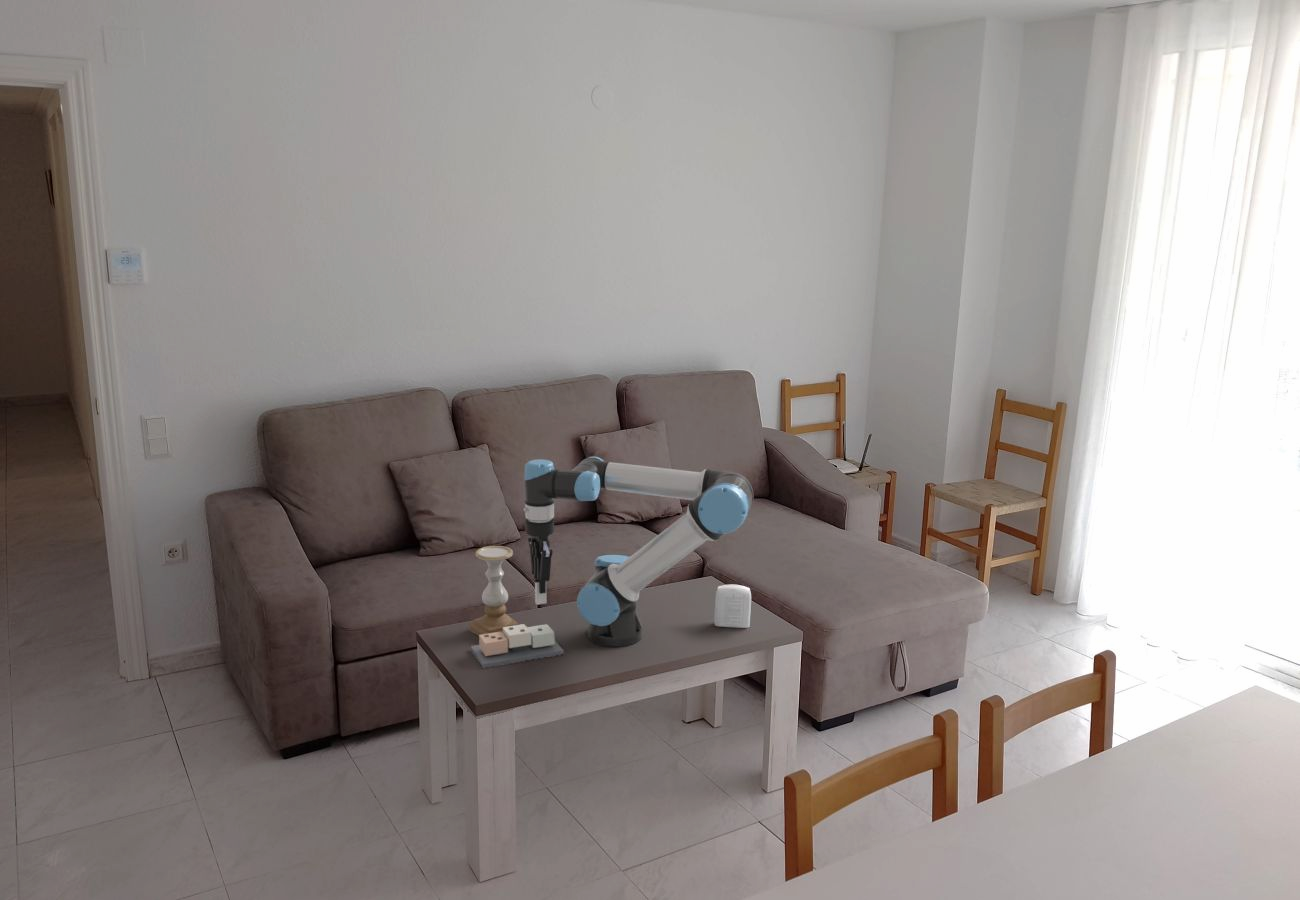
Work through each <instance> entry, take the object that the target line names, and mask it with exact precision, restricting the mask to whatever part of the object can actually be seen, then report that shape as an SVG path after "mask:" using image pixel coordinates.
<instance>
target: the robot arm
mask: <svg viewBox="0 0 1300 900" xmlns="http://www.w3.org/2000/svg"><path fill="white" fill-rule="evenodd" d="M523 477H524V478H523V481H524V508H523V512H525V513H524V514H525V515H524V516H525V524H524V525H525V526H524V527H525V528H524V529H525V533H526V535H528V536H531V537H528V539H527V542H528V546H529V554H530V555H529V556H530V567H531V569H530V570H531V575H533V578H534V601H535V602H534V603H535V605H537V606H538V605H544V604H545V605H546V604H548V603H547V602H548V601H547V599H548V598H547V597H548V595H547V582H549V581H550V578H551V566H552V558H553V557H552V556H553V552H554V551H553V550H552V549H549V548H550V540H549V536H550V535H552V534H553V533H554V532H555V519H554V518H555V499H560V500H569V501H570V500H571V501H580V502H588V501H589V502H590V501H591V502H593V501H596V500H597V499H598V497H599V495H600V490H606V491H607V490H608V491H617V492H623V493H624V492H625V493H631V494H632V493H633V494H639V495H649V496H656V497H663V498H673V499H681V500H688V501H691V502H690V503H688V504H687V508H686V513H685V514H683V515H682V516H681V517H679V518H678V519H677V520H676V521H674V522H673V523H672V524H671V525H669V526H668V527H667V528H665V529H664V530H662V532H660V533H659V534H657V535H656V536H654V538H652V539H651V540H650V541H648V542H647V543H646V544H644V545H643V546H642V547H640V549H638V550H637V551H636V552H635V553H633V554H632V555H630V556H629V555H628V556H627V555H623V554H622V555H620V554H606V555H605V554H604V555H600V556H597V557H596V558H595V560H594V564H593V565H594V573H593V574H592V576H591V577H590V578H589V580H588V581H587V582H586V583H585V585H584V586H582V587H581V589H580V590H579V593H578V595H577V599H576V607H577V610H578V612H579V614H580V615H581V617H582V618H583V619H584V620H585V621H586V622H588V623H589V625H588V628H587V636H588V639H589V640H590V641H591V642H592V643H595V644H596V645H600V646H604V647H615V648H616V647H617V648H619V647H625V646H631V645H634V644H637V643H638V642H640V641H641V639H642V638H643V626H642V622H641V620H640V616H639V614H638V609H637V602H638V600H639V599H640V598H639V597H640V591H642V590H643V589H645V588H646V587H647V586H648V585H650V584H651V583H652V582H654V581H655V580H657V578H659V577H661V576H662V575H664V573H666V572H667V571H668V570H670V569H671V568H672V567H673V566H675V565H677V564H678V563H679V562H680V561H682V560H683V559H684V558H685V557H687V556H688V555H689V554H690V553H692V552H693V551H695V550H696V549H697V548H699V547H700V546H701V545H703V544H704V543H705V542H706V541H712V542H716V541H718V540H719V539H720V538H722V537H724V536H725V535H727V534H730V533H733V532H734V531H736V530H738V529H739V528H740V527H741V526H742V525H743V524H744V522H745V521H746V519H747V516H748V515H749V510H750V508H751V507H752V504H753V502H754V497H755V496H754V490H753V486H752V485H751V483H750V482H749V480H748V479H747V478H746V477H745V476H744V475H742V474H741V473H738V472H733V471H726V470H717V469H708V468H705V469H703V470H702V471H701V472H700V471H692V470H683V469H674V468H664V467H657V466H647V465H638V464H629V463H623V462H622V463H619V462H611V461H605V460H604V459H602V458H601V457H598V456H588V457H587V458H585V459H583V460H581V461H580V462H579V464H577V465H576V466H575V467H574V468H573V469H571V470H567V469H566V470H562V469H557V468H556V469H555V467H554V463H553V461H551V460H549V459H540V458H539V459H532V460H529V461H528V462H526V463H525V465H524V476H523Z"/></svg>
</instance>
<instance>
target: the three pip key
mask: <svg viewBox="0 0 1300 900" xmlns="http://www.w3.org/2000/svg"><path fill="white" fill-rule="evenodd" d="M478 645H479V647H480V649H481V650H482V652H483V653H484V655H485V656H489V655H495V654H501V653H507V652H508V640H507V639H506V637H505V636H504V635H503V633H502V632H495V633H488V634H482V635H479V637H478Z"/></svg>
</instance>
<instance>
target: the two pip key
mask: <svg viewBox="0 0 1300 900" xmlns="http://www.w3.org/2000/svg"><path fill="white" fill-rule="evenodd" d="M527 627H528V626H527V625H526V624H525V623H522V624H521V623H520V624H518V625H514V626H508V627H503V635H504V636H505V637H506V639H507V640H508V647H509V648H514V647H520V646H526V645H531V631H530V630H529V629H528V628H527Z"/></svg>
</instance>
